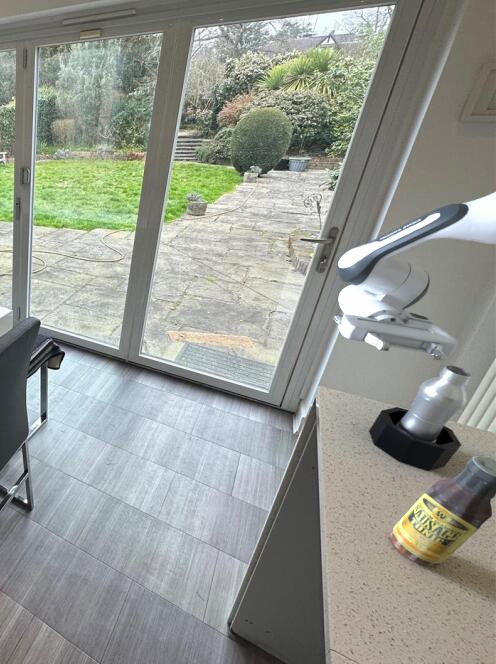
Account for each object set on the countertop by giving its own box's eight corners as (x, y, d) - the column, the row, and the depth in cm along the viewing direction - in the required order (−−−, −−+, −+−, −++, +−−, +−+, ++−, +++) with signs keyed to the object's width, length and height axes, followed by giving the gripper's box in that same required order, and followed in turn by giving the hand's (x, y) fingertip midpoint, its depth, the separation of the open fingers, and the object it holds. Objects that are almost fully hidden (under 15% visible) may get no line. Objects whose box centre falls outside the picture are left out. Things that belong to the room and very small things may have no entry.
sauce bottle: (378, 538, 67) (444, 452, 58) (401, 526, 69) (468, 441, 60) (428, 578, 62) (509, 489, 53) (451, 563, 64) (533, 476, 55)
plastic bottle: (421, 444, 86) (475, 367, 77) (430, 465, 81) (490, 386, 72) (381, 431, 89) (429, 356, 80) (388, 451, 84) (440, 373, 75)
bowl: (393, 425, 91) (407, 404, 88) (455, 463, 82) (472, 441, 79) (357, 433, 89) (370, 412, 86) (417, 474, 79) (433, 452, 76)
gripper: (336, 303, 101) (361, 330, 89) (439, 319, 95) (480, 350, 84) (325, 325, 104) (348, 354, 92) (425, 342, 98) (462, 375, 87)
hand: (412, 352), depth 88 cm, fingers open, 8 cm apart
